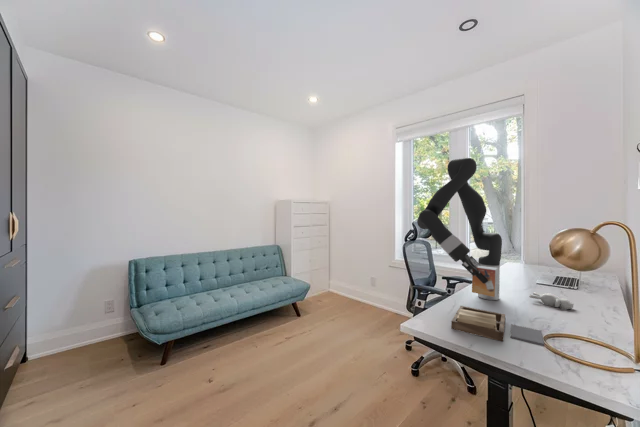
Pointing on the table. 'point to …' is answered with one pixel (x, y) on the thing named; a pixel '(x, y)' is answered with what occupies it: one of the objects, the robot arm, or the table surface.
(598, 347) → the table surface
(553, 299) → the bunny figurine
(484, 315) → the offcut stack
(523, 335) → the charcoal mat
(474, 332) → the walnut rack
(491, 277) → the small box
